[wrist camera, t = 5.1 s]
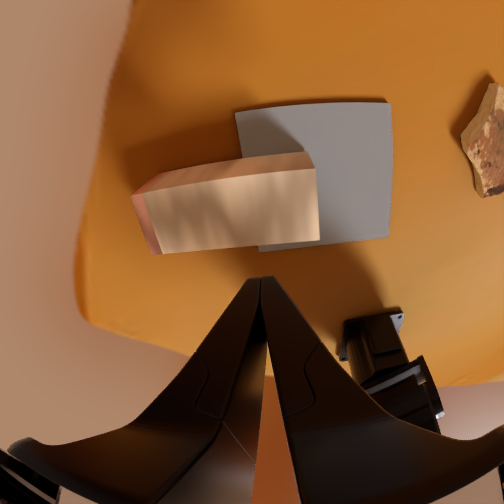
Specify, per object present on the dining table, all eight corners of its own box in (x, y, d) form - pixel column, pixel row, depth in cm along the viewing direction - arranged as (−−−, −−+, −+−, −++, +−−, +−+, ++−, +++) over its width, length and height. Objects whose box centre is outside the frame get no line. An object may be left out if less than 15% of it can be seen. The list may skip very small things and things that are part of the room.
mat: (386, 234, 19) (388, 237, 19) (259, 249, 20) (258, 252, 20) (388, 102, 14) (390, 103, 14) (234, 112, 15) (234, 112, 15)
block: (319, 240, 15) (151, 255, 16) (312, 209, 18) (172, 224, 20) (315, 168, 12) (130, 195, 14) (307, 151, 16) (157, 173, 17)
